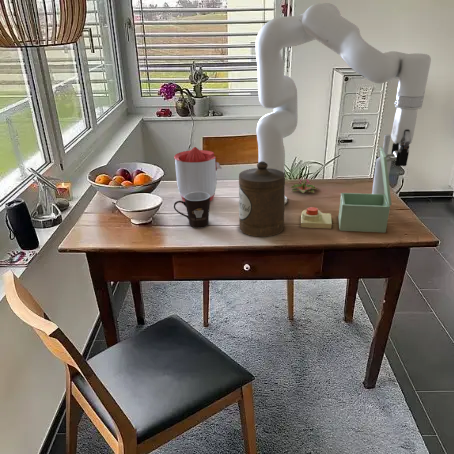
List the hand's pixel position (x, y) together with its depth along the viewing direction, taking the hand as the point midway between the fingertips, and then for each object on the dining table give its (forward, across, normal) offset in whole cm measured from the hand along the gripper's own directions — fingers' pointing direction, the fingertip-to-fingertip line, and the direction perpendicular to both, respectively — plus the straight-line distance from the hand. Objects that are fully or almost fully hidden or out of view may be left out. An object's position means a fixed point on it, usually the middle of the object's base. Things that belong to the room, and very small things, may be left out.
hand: (398, 160), depth 146 cm
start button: (+19, 0, -25) cm, 31 cm away
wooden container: (+22, +7, -41) cm, 47 cm away
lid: (+5, 0, -3) cm, 6 cm away
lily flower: (+22, -32, -28) cm, 48 cm away
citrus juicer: (+22, -17, -67) cm, 73 cm away
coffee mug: (+22, +6, -64) cm, 68 cm away
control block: (+22, 0, -23) cm, 32 cm away
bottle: (+22, -18, -1) cm, 28 cm away
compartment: (+22, 0, -8) cm, 23 cm away
